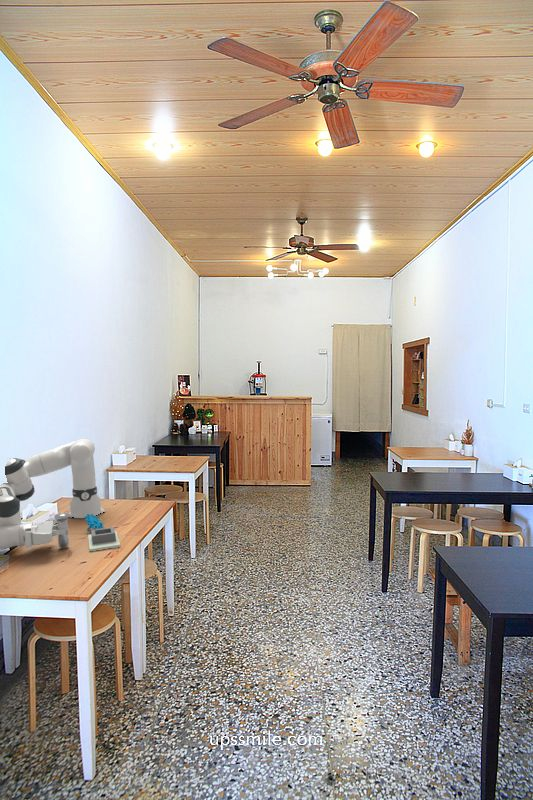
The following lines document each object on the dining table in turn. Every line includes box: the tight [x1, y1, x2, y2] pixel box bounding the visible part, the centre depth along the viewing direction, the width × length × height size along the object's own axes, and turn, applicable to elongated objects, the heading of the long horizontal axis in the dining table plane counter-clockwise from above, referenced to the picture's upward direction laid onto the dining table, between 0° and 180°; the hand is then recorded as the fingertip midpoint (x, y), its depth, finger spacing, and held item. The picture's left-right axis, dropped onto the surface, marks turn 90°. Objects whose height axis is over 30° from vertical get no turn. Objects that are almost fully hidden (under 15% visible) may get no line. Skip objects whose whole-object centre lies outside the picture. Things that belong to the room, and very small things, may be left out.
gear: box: [84, 514, 105, 531], centre depth 233 cm, size 11×6×10 cm
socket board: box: [87, 526, 121, 552], centre depth 215 cm, size 20×12×5 cm, turn 21°
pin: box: [54, 512, 70, 549], centre depth 209 cm, size 6×6×13 cm
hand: (65, 528), depth 209 cm, fingers closed on pin, 4 cm apart
